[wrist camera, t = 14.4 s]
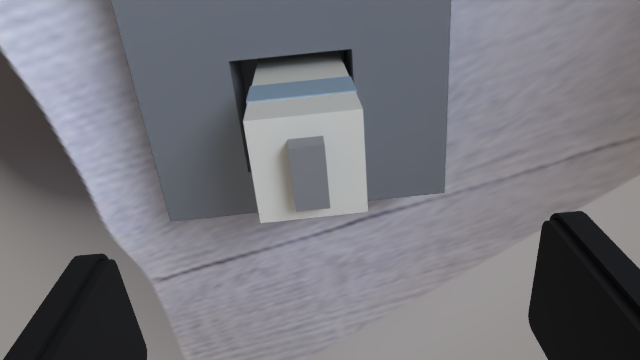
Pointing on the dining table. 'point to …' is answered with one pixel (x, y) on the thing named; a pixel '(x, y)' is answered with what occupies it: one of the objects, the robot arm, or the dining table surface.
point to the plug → (305, 138)
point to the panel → (237, 76)
